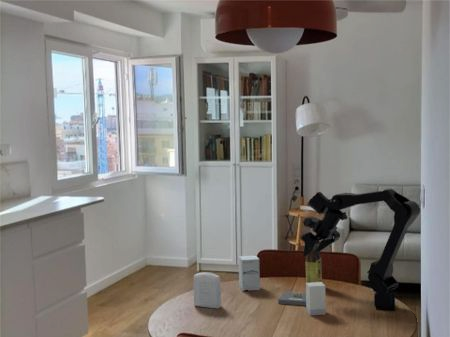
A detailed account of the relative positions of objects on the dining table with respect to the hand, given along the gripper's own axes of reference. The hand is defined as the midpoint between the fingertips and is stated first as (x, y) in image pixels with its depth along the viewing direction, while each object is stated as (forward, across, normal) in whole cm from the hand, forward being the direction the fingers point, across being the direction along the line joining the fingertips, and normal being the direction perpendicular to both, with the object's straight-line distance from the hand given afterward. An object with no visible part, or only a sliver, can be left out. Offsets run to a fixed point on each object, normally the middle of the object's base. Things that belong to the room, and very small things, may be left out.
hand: (311, 253), depth 205 cm
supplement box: (+25, +12, -10) cm, 29 cm away
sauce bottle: (+14, -5, +6) cm, 16 cm away
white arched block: (+24, +38, -8) cm, 45 cm away
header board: (+11, +13, +10) cm, 20 cm away
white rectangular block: (+4, +20, +21) cm, 29 cm away
